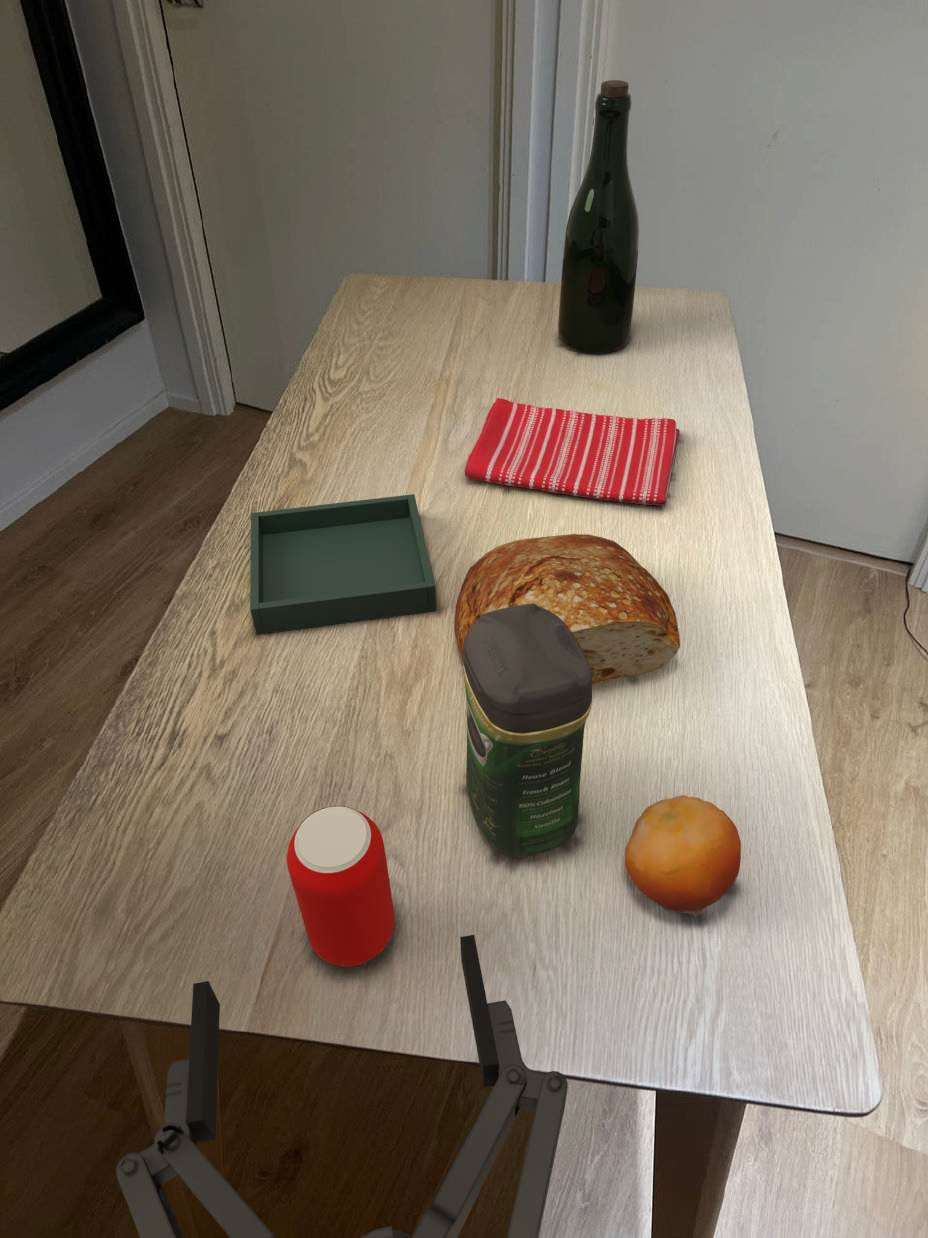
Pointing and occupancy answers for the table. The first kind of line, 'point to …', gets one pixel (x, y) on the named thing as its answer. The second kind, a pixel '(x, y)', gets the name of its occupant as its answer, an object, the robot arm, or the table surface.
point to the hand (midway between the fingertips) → (339, 970)
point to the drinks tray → (338, 564)
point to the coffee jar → (525, 728)
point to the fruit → (683, 854)
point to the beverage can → (342, 885)
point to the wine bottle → (602, 237)
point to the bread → (578, 599)
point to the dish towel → (575, 453)
